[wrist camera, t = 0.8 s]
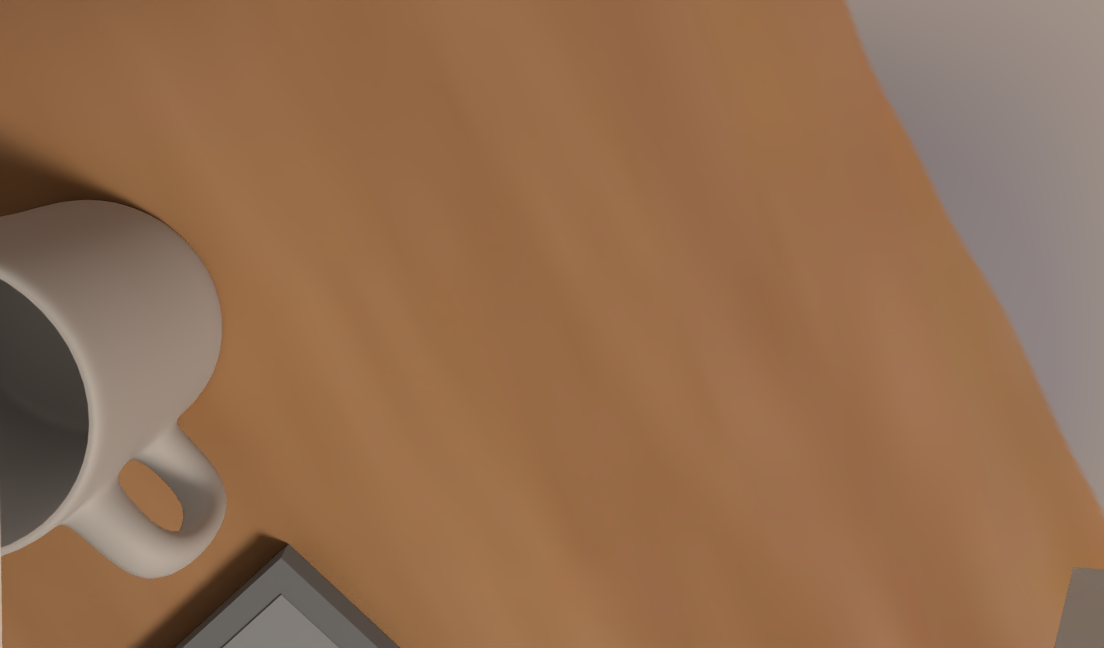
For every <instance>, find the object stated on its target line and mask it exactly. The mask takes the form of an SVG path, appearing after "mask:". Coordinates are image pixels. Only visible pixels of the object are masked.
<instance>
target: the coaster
mask: <svg viewBox="0 0 1104 648" xmlns="http://www.w3.org/2000/svg"><path fill="white" fill-rule="evenodd" d="M175 648H399V647H398V646H397V645H396V644H395V643H394V642H393V641H392V640H391V639H390V638H389V637H388V636H387V635H386V634H384V633H383V632H382V631H381V630H380V629H379V628H378V627H377V626H376V625H375V624H374V623H373V622H372V621H370V620H369V619H368V618H367V617H366V616H365V615H364V614H363V613H362V612H361V611H360V610H359V609H358V608H356V607H355V606H354V605H353V604H352V603H351V602H350V601H349V600H348V599H347V598H346V597H345V596H344V595H343V594H341V593H340V592H339V591H338V590H337V589H336V588H335V587H334V586H333V585H332V584H331V583H330V582H329V581H327V580H326V579H325V578H324V577H323V576H322V575H321V574H320V573H319V572H318V571H317V570H316V569H315V568H314V567H312V566H311V565H310V564H309V563H308V562H307V561H306V560H305V559H304V558H303V557H302V556H301V555H300V554H298V553H297V552H296V551H295V550H294V549H293V548H292V547H291V546H290V545H289V544H288V545H287V546H285V547H284V548H283V549H282V550H281V551H280V552H279V553H278V554H277V555H276V556H274V557H273V558H272V559H271V560H270V561H269V562H268V563H267V564H266V565H265V566H264V567H262V568H261V569H260V570H259V571H258V572H257V573H256V574H255V575H254V576H253V577H251V578H250V579H249V580H248V581H247V582H246V583H245V584H244V585H243V586H242V587H241V588H239V589H238V590H237V591H236V592H235V593H234V594H233V595H232V596H231V597H230V598H228V599H227V600H226V601H225V602H224V603H223V604H222V605H221V606H220V607H219V608H218V609H216V610H215V611H214V612H213V613H212V614H211V615H210V616H209V617H208V618H207V619H205V620H204V621H203V622H202V623H201V624H200V625H199V626H198V627H197V628H196V629H195V630H193V631H192V632H191V633H190V634H189V635H188V636H187V637H186V638H185V639H184V640H183V641H181V642H180V643H179V644H178V645H177V646H176V647H175Z"/></svg>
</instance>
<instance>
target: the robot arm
mask: <svg viewBox="0 0 1104 648" xmlns="http://www.w3.org/2000/svg"><path fill="white" fill-rule="evenodd" d="M0 648H2V608H1V530H0ZM1054 648H1104V570H1102V569H1090V568H1077V567H1073V571H1072V575H1071V579H1070V583H1069V588H1068V592H1067V596H1066V600H1065V604H1064V609H1063V613H1062V617H1061V621H1060V625H1059V630H1058V634H1057V638H1056V642H1055V646H1054Z"/></svg>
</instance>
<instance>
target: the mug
mask: <svg viewBox="0 0 1104 648" xmlns="http://www.w3.org/2000/svg"><path fill="white" fill-rule="evenodd" d="M221 340H222V314H221V308H220V302H219V298H218V295H217V292H216V288H215V285H214V283H213V281H212V279H211V276H210V274H209V272H208V270H207V269H206V267H205V265H204V264H203V262H202V261H201V259H200V257H199V256H198V255H197V254H196V252H195V251H194V250H193V249H192V247H191V246H190V245H189V244H188V243H187V242H186V241H185V240H184V239H183V238H182V237H181V236H180V235H179V234H178V233H176V232H175V231H174V230H172V229H171V228H170V227H168V226H167V225H166V224H165V223H163V222H161V221H159V220H158V219H156V218H154V217H153V216H151V215H149V214H146V213H144V212H142V211H139V210H137V209H135V208H132V207H129V206H125V205H122V204H118V203H113V202H107V201H101V200H76V201H66V202H60V203H55V204H51V205H47V206H42V207H38V208H35V209H31V210H27V211H24V212H20V213H16V214H11V215H6V216H1V217H0V530H1V556H3V555H5V554H8V553H11V552H13V551H16V550H19V549H21V548H22V547H24V546H26V545H28V544H30V543H32V542H34V541H36V540H37V539H39V538H41V537H42V536H43V535H45V534H46V533H48V532H49V531H50V530H52V529H53V528H54V527H56V526H58V525H66V526H68V527H70V528H71V529H73V530H74V531H75V532H77V533H78V534H79V535H80V536H81V537H83V538H84V539H85V540H86V541H87V542H88V543H90V544H91V545H92V546H93V547H94V548H95V549H97V550H98V551H99V552H100V553H101V554H103V555H104V556H105V557H106V558H108V559H109V560H110V561H111V562H113V563H114V564H115V565H117V566H118V567H120V568H122V569H123V570H125V571H126V572H128V573H131V574H133V575H135V576H138V577H142V578H149V579H152V578H158V577H163V576H167V575H170V574H172V573H174V572H176V571H179V570H181V569H182V568H184V567H185V566H187V565H188V564H190V563H191V562H192V561H193V560H195V559H196V558H197V557H198V556H199V555H200V554H201V553H202V552H203V551H204V550H205V549H206V548H207V546H208V545H209V544H210V543H211V542H212V540H213V538H214V537H215V535H216V533H217V531H218V530H219V528H220V526H221V524H222V521H223V518H224V515H225V511H226V504H227V502H226V491H225V488H224V485H223V482H222V479H221V478H220V476H219V474H218V472H217V470H216V469H215V468H214V466H213V465H212V463H211V462H210V461H209V460H208V458H207V457H206V456H205V455H204V454H203V453H202V451H201V450H200V449H199V448H198V447H197V446H196V445H195V444H194V443H193V442H192V441H191V440H190V438H189V437H188V436H187V435H186V434H185V433H184V432H183V431H182V430H181V428H180V427H179V426H178V424H177V419H178V417H179V416H180V415H181V414H182V413H183V412H184V411H185V410H186V409H187V408H188V407H189V406H190V405H192V403H193V402H194V401H195V400H196V398H197V397H198V396H199V395H200V393H201V392H202V391H203V390H204V388H205V386H206V385H207V383H208V381H209V379H210V378H211V376H212V373H213V371H214V368H215V366H216V363H217V360H218V356H219V352H220V348H221ZM131 460H137V461H139V462H141V463H143V464H145V465H146V466H148V467H149V468H150V469H152V470H153V471H154V472H155V473H156V474H157V475H158V476H159V477H160V478H161V479H162V480H163V481H164V482H165V483H166V484H167V485H168V486H169V487H170V488H171V489H172V491H173V492H174V493H175V495H176V496H177V498H178V500H179V501H180V503H181V506H182V508H183V521H182V526H181V528H180V530H179V531H174V532H172V531H169V530H166V529H163V528H161V527H160V526H158V525H157V524H155V523H154V522H153V521H151V520H150V519H149V518H148V517H147V516H146V515H145V514H144V513H143V512H142V511H141V510H140V509H139V508H138V507H137V506H136V505H135V504H134V503H133V502H132V501H131V499H130V498H129V497H128V496H127V494H126V493H125V491H124V490H123V488H122V487H121V485H120V483H119V480H118V475H119V472H120V471H121V469H122V468H123V466H124V465H125V464H126V463H127V462H128V461H131Z"/></svg>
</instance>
